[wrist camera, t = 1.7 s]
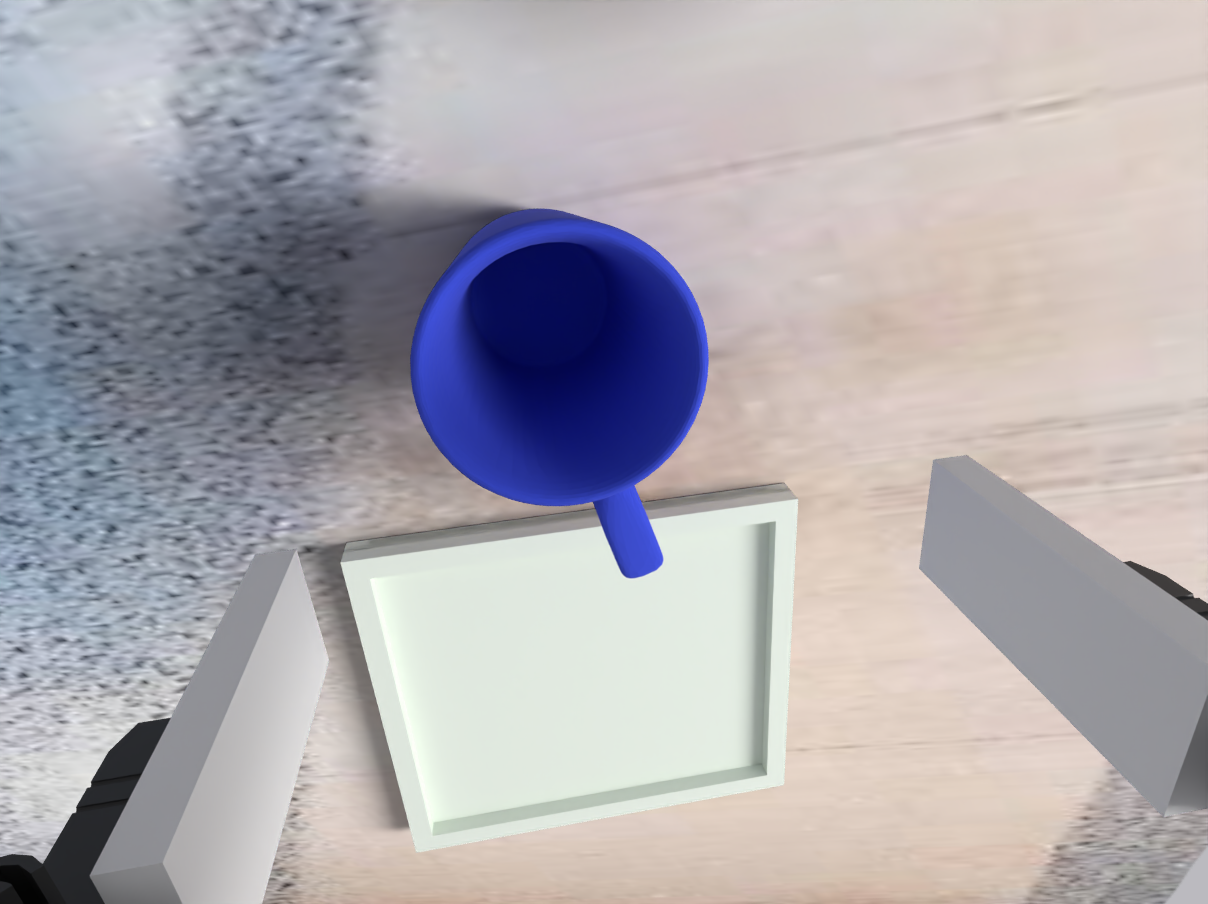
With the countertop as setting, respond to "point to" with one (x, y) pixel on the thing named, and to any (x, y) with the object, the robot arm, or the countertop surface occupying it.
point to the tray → (579, 663)
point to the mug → (562, 368)
